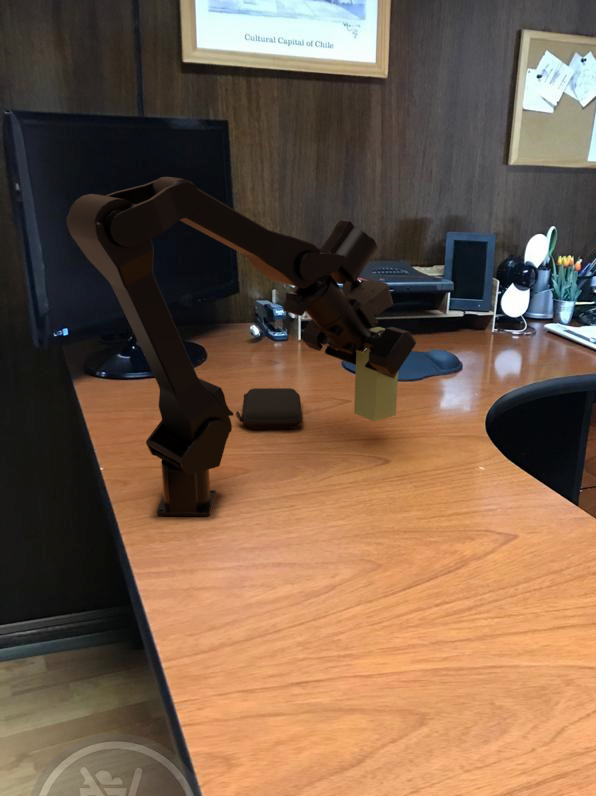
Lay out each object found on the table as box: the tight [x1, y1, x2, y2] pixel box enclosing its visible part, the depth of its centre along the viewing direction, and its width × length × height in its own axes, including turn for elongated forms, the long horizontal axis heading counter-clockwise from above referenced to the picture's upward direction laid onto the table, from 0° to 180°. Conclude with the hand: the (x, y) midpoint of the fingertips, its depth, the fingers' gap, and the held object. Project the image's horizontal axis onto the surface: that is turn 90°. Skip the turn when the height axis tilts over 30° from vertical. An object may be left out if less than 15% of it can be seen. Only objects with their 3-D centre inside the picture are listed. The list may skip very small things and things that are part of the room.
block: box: [353, 326, 399, 422], centre depth 117 cm, size 5×5×13 cm
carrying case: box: [235, 387, 303, 430], centre depth 129 cm, size 11×3×15 cm
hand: (383, 371), depth 118 cm, fingers closed on block, 4 cm apart
